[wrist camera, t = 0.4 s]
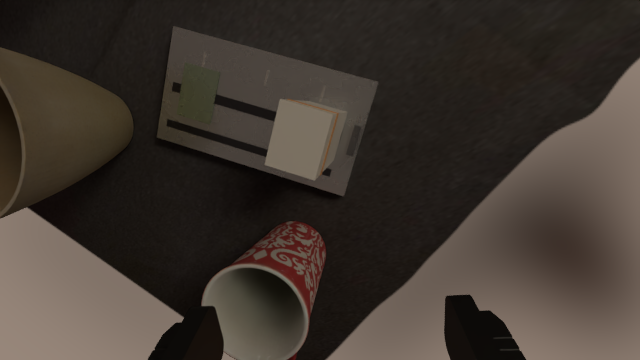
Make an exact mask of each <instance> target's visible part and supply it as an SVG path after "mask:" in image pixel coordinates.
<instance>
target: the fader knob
mask: <svg viewBox="0 0 640 360" xmlns="http://www.w3.org/2000/svg"><path fill="white" fill-rule="evenodd" d="M347 113H348V112H346V111H342V110H339V109H335V108H332V107H328V106H325V105H321V104H318V103H314V102H311V101H301V100H292V99H287V100H286V99H280V101H279V105H278V109H277V114H276V118H275V122H274V126H273V131H272V135H271V139H270V143H269V148H268V152H267V156H266V160H265V165H267V166H270V167H273V168H276V169H279V170H282V171H286V172H289V173H292V174H295V175H298V176H302V177H305V178H308V179H311V180H314V181H315V180H316V179H317V178H318V177H319V176H321V175H322V172H323V171H324V170H325V169H326V168H327V167H328V166H329V165H330V164H331V163H332V162H333V161H334V158H335V154H336V151H337V147H338V144H339V141H340V137H341V134H342V130H343V127H344V123H345V120H346V116H347Z"/></svg>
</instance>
